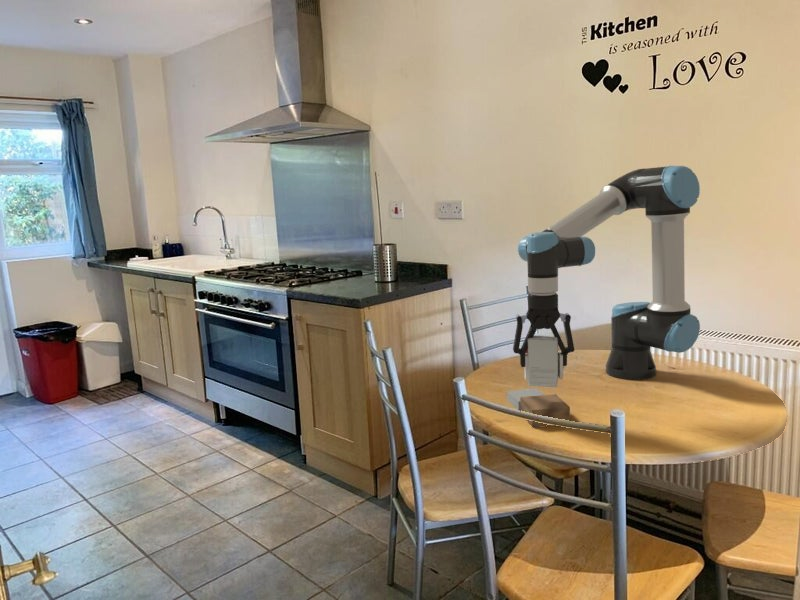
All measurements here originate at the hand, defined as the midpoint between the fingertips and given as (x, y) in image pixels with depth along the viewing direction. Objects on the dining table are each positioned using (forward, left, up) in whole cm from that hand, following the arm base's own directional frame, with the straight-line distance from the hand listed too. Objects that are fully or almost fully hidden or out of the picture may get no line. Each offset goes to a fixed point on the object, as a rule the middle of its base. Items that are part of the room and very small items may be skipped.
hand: (543, 378), depth 150 cm
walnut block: (0, 0, -12) cm, 12 cm away
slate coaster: (+3, -12, -12) cm, 17 cm away
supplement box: (0, 0, -2) cm, 2 cm away
